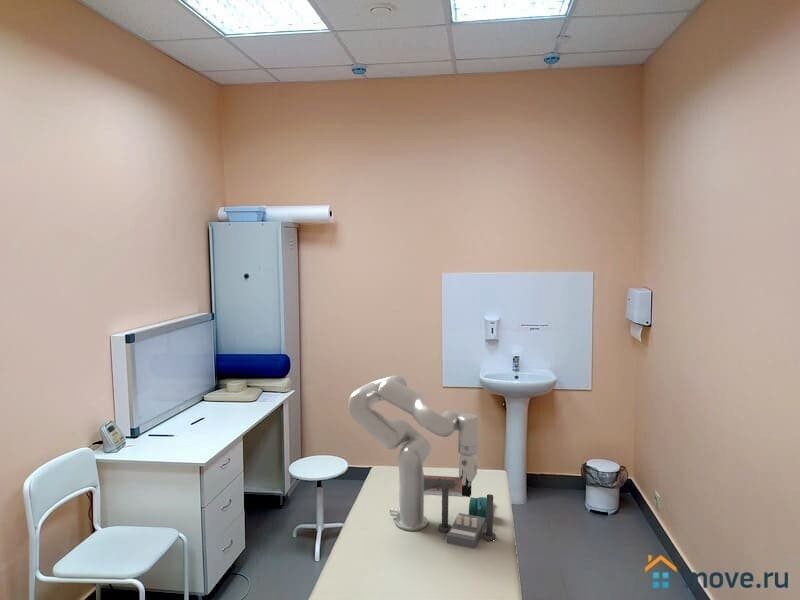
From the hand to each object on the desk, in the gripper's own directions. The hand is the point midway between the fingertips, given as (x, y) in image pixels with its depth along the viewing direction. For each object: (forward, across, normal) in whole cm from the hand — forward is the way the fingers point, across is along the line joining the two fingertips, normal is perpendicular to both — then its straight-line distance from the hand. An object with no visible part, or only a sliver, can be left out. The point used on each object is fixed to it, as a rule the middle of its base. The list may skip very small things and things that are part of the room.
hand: (466, 495), depth 208 cm
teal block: (+15, +20, -2) cm, 25 cm away
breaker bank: (+12, 0, 0) cm, 12 cm away
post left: (+15, 0, +8) cm, 17 cm away
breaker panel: (+15, 0, -1) cm, 15 cm away
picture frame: (+16, +36, +21) cm, 45 cm away
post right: (+15, 0, -9) cm, 17 cm away
